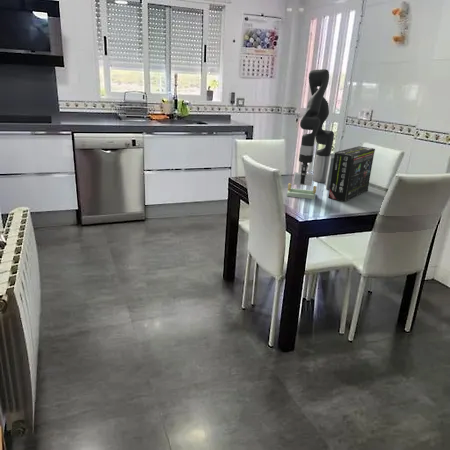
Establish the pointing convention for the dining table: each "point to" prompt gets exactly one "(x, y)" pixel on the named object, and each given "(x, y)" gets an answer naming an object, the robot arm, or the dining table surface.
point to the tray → (301, 192)
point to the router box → (351, 173)
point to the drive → (307, 179)
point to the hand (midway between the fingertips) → (302, 182)
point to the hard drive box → (329, 171)
